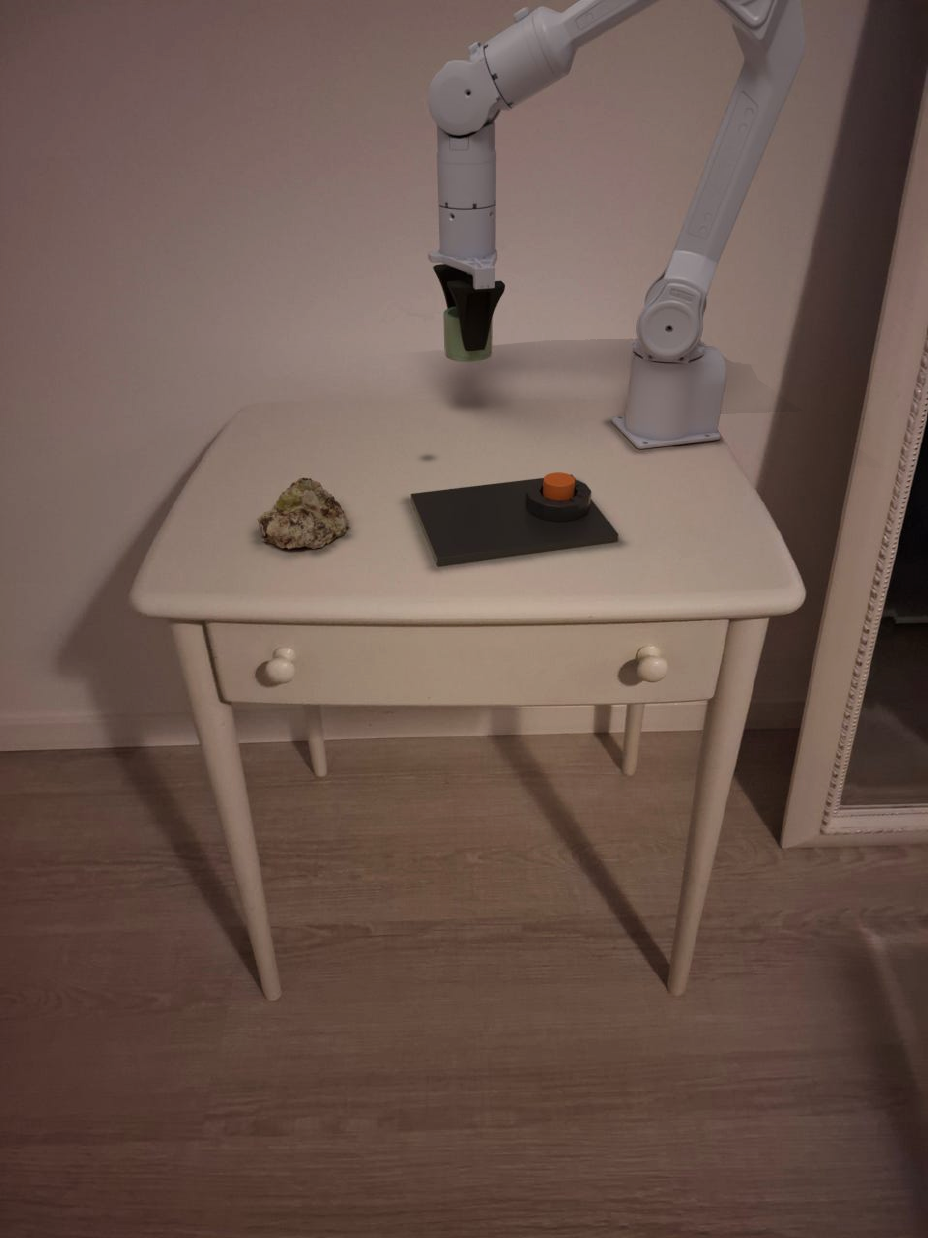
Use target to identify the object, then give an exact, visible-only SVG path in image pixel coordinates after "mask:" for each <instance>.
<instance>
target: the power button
mask: <svg viewBox="0 0 928 1238" xmlns="http://www.w3.org/2000/svg"><path fill="white" fill-rule="evenodd" d="M572 475H573V474H572ZM572 475H570V473H567V472H561V471H559V472H550V473H548V474H546V475H545V476H544V477H543V478H544V481H543V496H544V497H546V498H549V499H553V500H567V499H571V498H573V496H574V490H575V479H576V477H575V476H574V475H573V476H574V477H575V478H574V477H573V476H572Z"/></svg>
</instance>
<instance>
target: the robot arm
mask: <svg viewBox="0 0 928 1238" xmlns="http://www.w3.org/2000/svg"><path fill="white" fill-rule="evenodd" d="M662 1H663V0H578V1H577V2H576V3H574V4H572V5H571V6H569V7H568V8H567V9H565V10H564V11H562V12H559V11H557V10H554V9H552V8H549V7H547V6H542V5H541V6H539V7H536V8H535V9H534V10H531V8H530V7H527V6H525V7H523V8H522V9H520V10H518V11H516V12H515V13H514V14H513V19H514V21H515V23H513V24H511V25H510V26H509V27H506V29H504V30H502V31H501V32H499V33H498V34H497V35H495V36H494V37H492V38H490V39H489V40H487V41H485V43H483V44H482V43H481V42H480V41H475V42H473V44H471V45H469V46H468V47H467V50H468V53H469V59H466V60H463V59H455V60H449V61H447V62H446V63H445V64H444V65H443V67H442V69H440V70H439V71H438V72H437V73H436V74H435V75H434V77H433V78H432V80H431V83H430V85H429V88H428V92H427V93H428V94H427V103H428V109H429V113H430V116H431V118H432V120H433V121H434V123H435V124H436V136H437V137H436V140H437V141H436V143H437V144H436V145H437V146H436V147H437V152H436V171H437V172H436V173H437V174H436V175H437V204H438V236H439V238H438V240H439V241H438V244H439V245H438V246H439V249H438V250H431V251H428V252H427V258H428V260H429V262H430V263H434V264H435V263H441V264H436V265H433V266H432V269H433V272H434V273H435V276H436V277H437V280H438V282H439V284H440V287H441V289H442V293H443V296H444V300H445V305H446V308H447V309H449V308H451V307H456V308H457V311H458V316H459V321H460V328H461V335H462V341H463V345H464V348H465V350H466V351H477V350H485V347H486V344H487V340H488V335H489V330H490V326H491V321H492V317H493V318H494V313H495V311H496V308H497V306H498V303H499V301H500V299H501V297H503V294H504V293H505V289H506V284H505V283H504V282H503V281H502V280H496V267H495V266H496V263H497V260H498V249H496V241H497V239H496V236H497V235H496V234H497V233H496V226H497V215H496V214H497V212H496V211H497V207H496V206H497V205H496V203H497V151H496V122H495V121H497V119H498V117H499V116H500V114H501V112H502V111H506V112H510V111H512V110H513V109H514V108H516V107H517V106H520V105H521V104H522V103H524V102H526V101H528V100H529V99H531V98H533V97H534V96H535V95H537V94H539V93H541V92H543V90H545V89H548V88H549V87H550V86H552V85H554V84H555V83H557V82H559V81H561V80H562V79H564V78H565V77H567V76H569V74H570V73H571V70H572V67H573V63H574V60H575V57H576V54H577V52H578V50H579V49H581V48H582V47H584V46H585V45H587V44H589V43H590V42H593V41H594V40H596V39H598V38H600V37H601V36H603V35H605V34H606V33H608V32H610V31H611V30H613V29H615V28H617V27H618V26H620V25H622V24H624V23H625V22H627V21H629V20H630V19H632V18H633V17H636V16H637V15H639V14H641V13H642V12H645V11H646V10H648V9H649V8H651V7H653V6H655V5H656V4H659V3H660V2H662ZM713 2H714V3H715V4H716V6H717V7H718V8H719V9H720V10H721V11H722V12H723V13H724V15H726V17H727V18H728V20H730V22H731V28H732V31H733V34H734V35H735V38H736V41H737V43H738V45H739V47H740V51H741V53H742V55H743V58H744V61H743V63H742V65H741V68H740V71H739V74H738V77H737V79H736V82H735V85H734V87H733V90H732V93H731V96H730V98H729V101H728V103H727V106H726V108H725V111H724V114H723V117H722V119H721V122H720V124H719V127H718V130H717V133H716V135H715V138H714V140H713V143H712V146H711V148H710V151H709V155H708V156H707V159H706V162H705V164H704V167H703V170H702V173H701V175H700V178H699V181H698V184H697V185H696V188H695V191H694V194H693V196H692V199H691V201H690V204H689V207H688V210H687V212H686V215H685V217H684V220H683V222H682V226H681V228H680V230H679V234H678V237H677V239H676V242H675V244H674V246H673V249H672V251H671V253H670V257H669V259H668V262H667V264H666V266H665V268H664V270H663V272H662V273H661V274H660V276H658V277H657V278H656V279H655V280H654V281H653V282H652V284H651V285H650V286H649V287H648V290H646V294H645V297H644V305H643V308H641V310H640V313H639V315H638V317H637V320H636V325H635V326H636V327H635V328H636V329H635V332H636V337H637V339H635V340H634V341H633V343H632V351H631V360H630V370H629V380H628V390H627V401H626V407H625V408H626V410H625V414H624V415H615V416H612V417H611V419H610V421H611V423H612V424H613V425H614V426H615V427H616V428H617V429H618V430H619V431H620V432H621V433H622V435H624V436H625V437H626V438H627V439H628V440H629V441H630V442H631V443H632V444H633V445H634V446H635V448H637V449H641V450H643V449H652V448H661V447H669V446H679V445H686V444H695V443H703V442H711V441H712V442H713V441H719V440H720V439H721V434H720V433H719V432H718V430H719V425H720V419H721V413H722V409H723V408H722V407H723V403H724V396H725V390H726V383H727V366H726V361H725V357H724V355H723V353H722V352H721V350H719V348H717V346H713V345H705V343H704V342H703V341H702V339H701V337H702V336H703V332H704V314H705V311H706V308H707V297H708V295H709V292H710V290H711V287H712V283H713V281H714V277H715V274H716V271H717V268H718V265H719V263H720V260H721V258H722V255H723V253H724V250H725V248H726V246H727V243H728V241H729V238H730V235H731V233H732V231H733V228H734V226H735V224H736V221H737V219H738V216H739V214H740V211H741V209H742V207H743V204H744V202H745V199H746V198H747V194H748V192H749V190H750V187H751V185H752V182H753V180H754V177H755V175H756V173H757V170H758V167H759V165H760V162H761V161H762V158H763V157H764V153H765V151H766V148H767V146H768V143H769V141H770V139H771V136H772V133H773V131H774V129H775V126H776V124H777V121H778V120H779V116H780V114H781V112H782V110H783V107H784V105H785V102H786V100H787V98H788V96H789V93H790V90H791V87H792V85H793V82H794V80H795V78H796V76H797V73H798V71H799V68H800V66H801V63H802V61H803V59H804V57H805V51H806V47H807V35H806V29H805V21H804V13H803V6H802V0H713Z"/></svg>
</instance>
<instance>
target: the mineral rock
mask: <svg viewBox="0 0 928 1238" xmlns="http://www.w3.org/2000/svg"><path fill="white" fill-rule="evenodd" d="M256 520H257V522H258V524H259V525H258V526H259V530H260V533H261V541H262V542H263V543H265V544H267V543H270V544H273V545H275V546H277V547H278V548H279V549H285V548H287V549H288V550H290V549H295V548H298V549H299V548H304V547H307V548H310V549H312V550H315V549H319V548H324V547H325V545H326V544H330V543H331V542H332V541H334V540H335V539H336V538H339V537H342V536H343V535H344V534H345V532H347V527H348V525H350V520H348V519H347V516H346V513H345V510H343V508H342V505H341V504H340V503H339V502H338V501H337V500H336V499H335V496H334V495H332V493H329V491H327V490H326V489H324V488H323V486H322V484H321V482H320V481H317V480H313V479H312V477H310V478H308V477H300V478H298V479H296V481H294V482H291V484H290V485H289V487H288V488H286V489H285V491H282V493H281V494H280V495H279V496H278V498H277V499H276V501H275V504H274V505H272V508H270V510H269V511H268V510H267V511H264V512H263V513H262V514H261V515H260V516H258V518H256Z"/></svg>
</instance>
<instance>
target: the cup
mask: <svg viewBox="0 0 928 1238" xmlns="http://www.w3.org/2000/svg"><path fill="white" fill-rule="evenodd" d="M442 317H443V320H442V321H443V350H444V356H445V358H447V359H449V360H451V361H454V362H460V363H476V362H482V361H485V360H488V359H490V358H491V357H493V348H494V335H493V334H494V316H493V317H492V321H491V326H490V330H489V335H488V340H487V344H486V347H485V350H477V351H466V350H465V348H464V345H463V341H462V335H461V328H460V321H459V316H458V311H457V308H456V307H451V308H449V309H445V310H444V311H443V314H442Z"/></svg>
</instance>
